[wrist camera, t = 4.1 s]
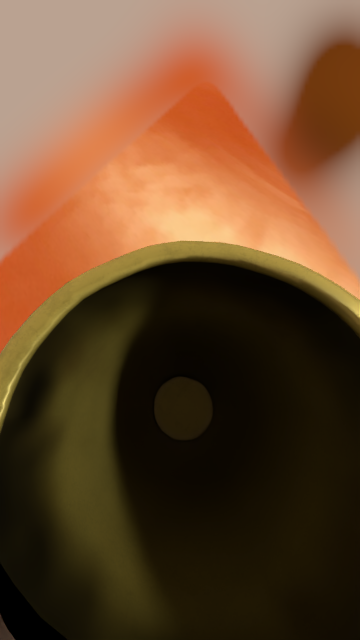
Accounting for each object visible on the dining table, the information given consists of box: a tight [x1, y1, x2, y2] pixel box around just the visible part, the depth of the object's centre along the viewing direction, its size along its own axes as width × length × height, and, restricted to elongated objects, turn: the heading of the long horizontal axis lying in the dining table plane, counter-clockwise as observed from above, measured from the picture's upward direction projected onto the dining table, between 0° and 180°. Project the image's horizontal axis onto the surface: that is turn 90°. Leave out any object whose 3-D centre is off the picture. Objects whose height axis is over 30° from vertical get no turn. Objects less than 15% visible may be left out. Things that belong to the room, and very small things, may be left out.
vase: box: [0, 241, 360, 640], centre depth 9 cm, size 6×6×14 cm
